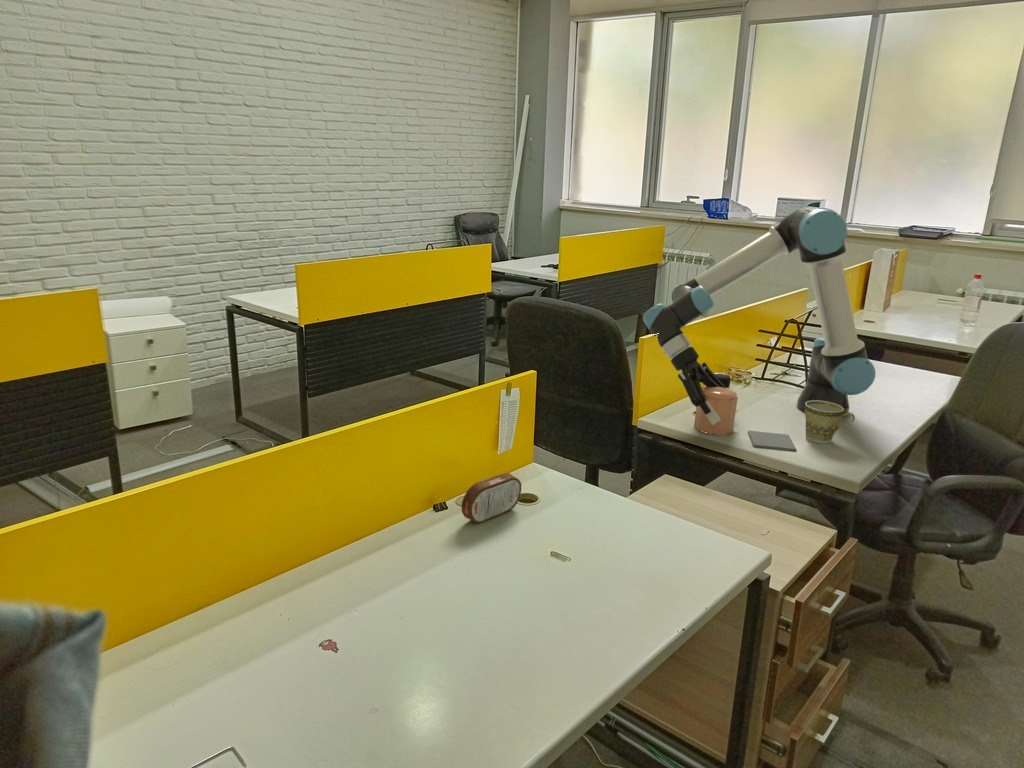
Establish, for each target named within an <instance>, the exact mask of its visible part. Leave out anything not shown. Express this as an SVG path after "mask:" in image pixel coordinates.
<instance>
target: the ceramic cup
mask: <svg viewBox="0 0 1024 768" xmlns="http://www.w3.org/2000/svg"><path fill="white" fill-rule="evenodd" d="M843 411H844V408H843V407H842V406H840V405H838V404H835V403H832V402H827V401H820V400H811V401H807V402H806V403H805V411H804V415H805V416H804V418H805V439H806V440H807V441H809V442H811V443H815V444H819V445H827V444H831V442H832V440H833V437H834V436H835V434H836V432H837V431H838V430H840V429H842V428H843V427H845V426H848V425H850V424H852V423H854V422H855V415H854V413H852V412H846V413H843ZM846 415H847V416H851V417H852V420H851V421H849V422H847V423H844V424H841V425H840V426H838V425H839V423H840V421H841V420H842V419H843V418H844V417H846Z"/></svg>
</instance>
